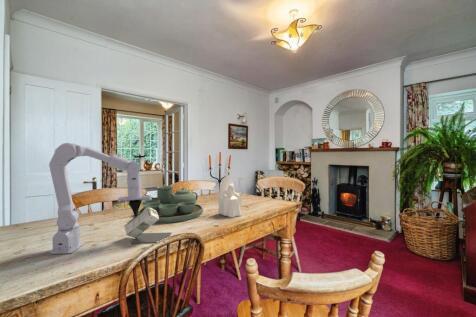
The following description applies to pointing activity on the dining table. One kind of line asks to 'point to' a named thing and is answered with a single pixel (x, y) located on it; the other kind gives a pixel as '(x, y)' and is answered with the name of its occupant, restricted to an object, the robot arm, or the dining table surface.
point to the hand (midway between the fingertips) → (136, 216)
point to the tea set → (174, 205)
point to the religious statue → (229, 197)
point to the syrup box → (141, 222)
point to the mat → (150, 237)
